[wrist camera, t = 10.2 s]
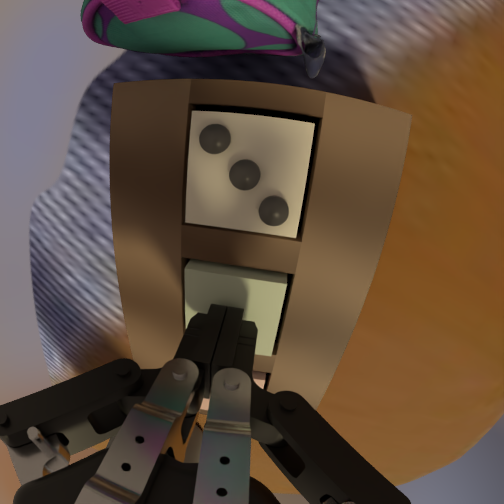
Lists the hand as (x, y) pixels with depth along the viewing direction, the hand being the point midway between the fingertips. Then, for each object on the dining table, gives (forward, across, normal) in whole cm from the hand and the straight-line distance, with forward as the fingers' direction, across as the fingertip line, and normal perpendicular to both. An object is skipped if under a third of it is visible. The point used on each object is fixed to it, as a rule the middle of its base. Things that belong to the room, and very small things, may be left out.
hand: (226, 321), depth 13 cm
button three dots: (+3, 0, -7) cm, 7 cm away
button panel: (+5, 0, 0) cm, 5 cm away
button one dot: (+3, 0, 0) cm, 3 cm away
